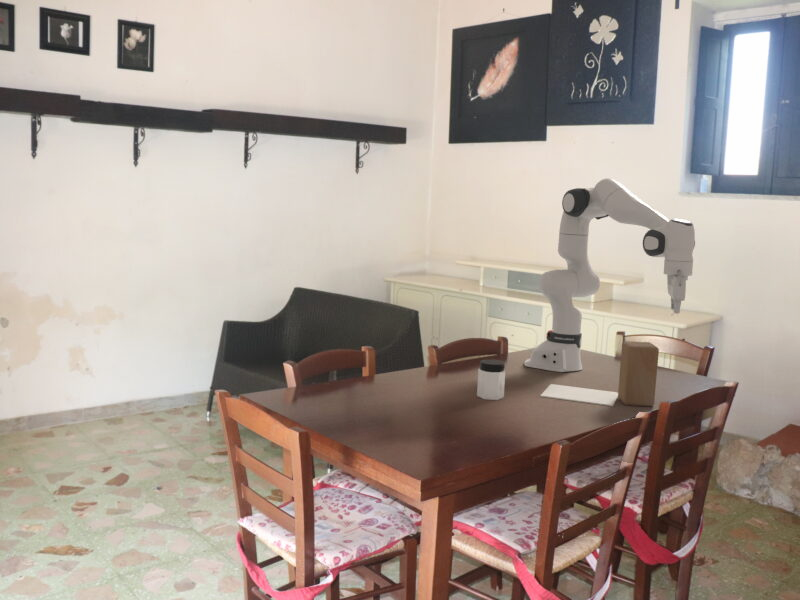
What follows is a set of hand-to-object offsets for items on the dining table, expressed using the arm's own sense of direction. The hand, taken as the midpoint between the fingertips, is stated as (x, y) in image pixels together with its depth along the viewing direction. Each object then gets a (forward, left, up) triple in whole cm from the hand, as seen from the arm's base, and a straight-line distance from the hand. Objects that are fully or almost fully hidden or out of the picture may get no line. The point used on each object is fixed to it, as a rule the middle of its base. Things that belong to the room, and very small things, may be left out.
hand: (675, 311), depth 263 cm
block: (-10, -3, -32) cm, 33 cm away
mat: (-28, -2, -32) cm, 42 cm away
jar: (-55, -20, -32) cm, 67 cm away
